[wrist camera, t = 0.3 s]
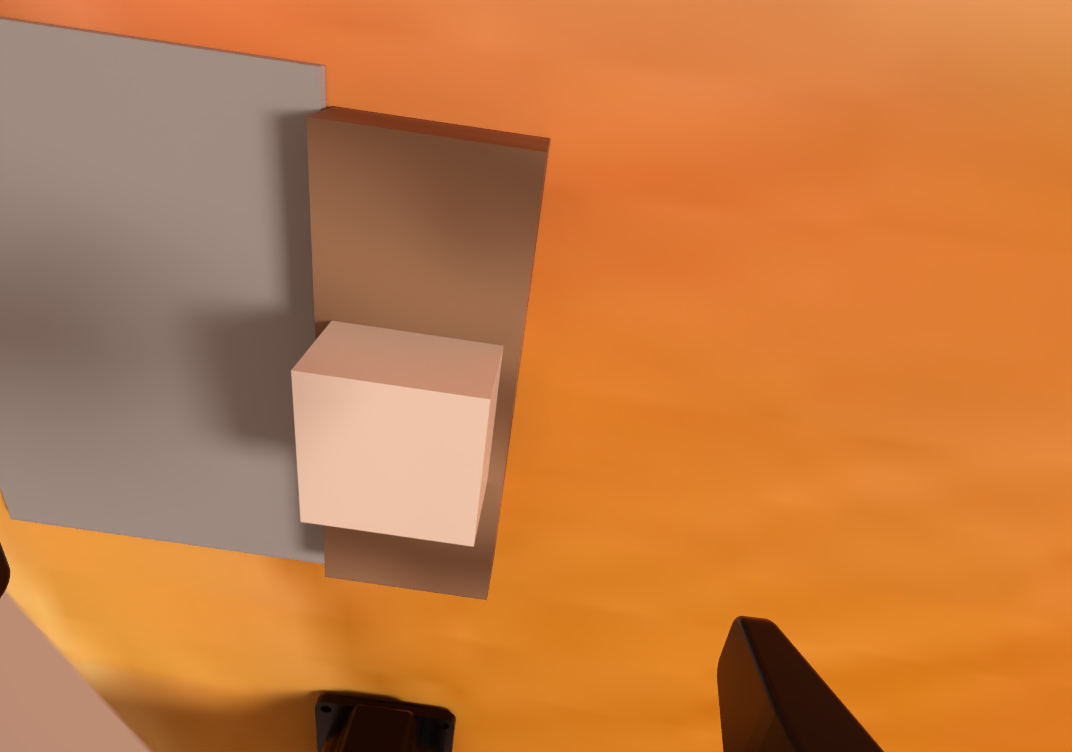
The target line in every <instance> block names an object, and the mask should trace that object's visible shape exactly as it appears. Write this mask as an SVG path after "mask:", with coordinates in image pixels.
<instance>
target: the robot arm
mask: <svg viewBox="0 0 1072 752" xmlns="http://www.w3.org/2000/svg"><path fill="white" fill-rule="evenodd" d="M9 579H10V567H9V564H8V562H7V559H6V556H5V554H4V551H3V548H2V546H1V543H0V598H1V596H2V595H3V593H4V592H5V590H6V588H7V585H8V583H9ZM717 684H718V695H719V706H720V718H721V729H722V741H723V752H884V751H883V750H882V749H881V747H880V746H879V745H878V744H877V743H876V742H875V740H874V739H873V738H872V737H871V736H870V735H869V733H868V732H867V731H866V730H865V729H864V727H863V726H862V725H861V724H860V723H859V722H858V720H857V719H856V718H855V717H854V716H853V715H852V713H851V712H850V711H849V710H848V709H847V708H846V706H845V705H844V704H843V703H842V702H841V700H840V699H839V698H838V697H837V696H836V695H835V693H834V692H833V691H832V690H831V689H830V688H829V686H828V685H827V684H826V683H825V682H824V680H823V679H822V678H821V677H820V676H819V675H818V673H817V672H816V671H815V670H814V669H813V668H812V666H811V665H810V664H809V663H808V662H807V661H806V659H805V658H804V657H803V656H802V655H801V653H800V652H799V651H798V650H797V649H796V648H795V646H794V645H793V644H792V643H791V642H790V641H789V639H788V638H787V637H786V636H785V635H784V634H783V632H782V631H781V630H780V629H779V628H778V626H777V625H776V624H774V623H773V622H772V621H770V620H768V619H763V618H755V617H747V616H739V617H737V618H736V619H735V620H734V621H733V623H732V626H731V628H730V631H729V634H728V637H727V639H726V642H725V645H724V647H723V650H722V653H721V656H720V658H719V662H718V669H717ZM315 713H316V730H317V747H318V752H452V748H453V739H454V730H455V722H456V718H455V716H454V715H453V714H452V713H450V712H447V711H441V710H434V709H427V708H420V707H413V706H406V705H399V704H392V703H385V702H378V701H371V700H364V699H357V698H350V697H343V696H336V695H328V694H324V695H321V696H320V697H319V698H318V701H317V703H316V706H315Z"/></svg>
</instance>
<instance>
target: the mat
mask: <svg viewBox="0 0 1072 752" xmlns="http://www.w3.org/2000/svg"><path fill="white" fill-rule="evenodd" d="M325 109H326V79H325V65H320V64H314V63H307V62H300V61H294V60H287V59H280V58H273V57H267V56H260V55H253V54H247V53H240V52H233V51H227V50H220V49H213V48H206V47H200V46H193V45H186V44H180V43H173V42H166V41H160V40H153V39H146V38H139V37H133V36H126V35H119V34H113V33H106V32H99V31H93V30H86V29H79V28H72V27H66V26H59V25H52V24H46V23H39V22H32V21H25V20H19V19H12V18H5V17H0V489H1V492H2V495H3V497H4V500H5V503H6V506H7V509H8V512H9V515H10V517H11V519H14V520H21V521H28V522H34V523H41V524H48V525H55V526H62V527H69V528H76V529H83V530H90V531H97V532H104V533H111V534H118V535H125V536H132V537H139V538H146V539H153V540H160V541H167V542H174V543H181V544H188V545H195V546H202V547H209V548H216V549H223V550H230V551H237V552H244V553H251V554H258V555H265V556H271V557H278V558H285V559H292V560H299V561H306V562H313V563H320V564H325V562H324V537H323V525H319V524H312V523H305V522H301V520H300V504H299V488H298V472H297V456H296V440H295V424H294V408H293V392H292V377H291V370H292V369H293V368H294V366H295V365H296V364H297V363H298V361H299V360H300V359H301V358H302V357H303V355H304V354H305V353H306V352H307V350H308V349H309V348H310V347H311V345H312V344H313V343H314V342H315V316H314V292H313V267H312V243H311V218H310V194H309V169H308V145H307V120H306V117H307V116H309V115H312V114H315V113H317V112H320V111H322V110H325Z"/></svg>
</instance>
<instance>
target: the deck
mask: <svg viewBox="0 0 1072 752" xmlns="http://www.w3.org/2000/svg"><path fill="white" fill-rule="evenodd" d="M306 120H307V145H308V169H309V194H310V218H311V243H312V267H313V292H314V316H315V341H316V339H317V338H318V337H319V336H320V334H321V333H322V332H323V331H324V330H325V328H326V327H327V326H328V325H329V323H330V322H331V321H338V322H345V323H352V324H358V325H365V326H372V327H379V328H386V329H393V330H399V331H406V332H413V333H420V334H427V335H434V336H440V337H447V338H454V339H461V340H468V341H475V342H482V343H488V344H495V345H502V346H503V353H502V361H501V370H500V378H499V387H498V395H497V404H496V412H495V420H494V429H493V437H492V446H491V454H490V463H489V471H488V479H487V485H486V490H485V495H484V500H483V504H482V509H481V514H480V519H479V524H478V529H477V533H476V538H475V543H474V547H472V546H465V545H458V544H451V543H444V542H438V541H431V540H424V539H417V538H410V537H403V536H396V535H389V534H382V533H375V532H368V531H361V530H354V529H347V528H340V527H333V526H326V525H323V537H324V562H325V577H330V578H337V579H344V580H351V581H358V582H365V583H372V584H379V585H385V586H392V587H399V588H406V589H413V590H420V591H427V592H434V593H441V594H448V595H455V596H462V597H469V598H476V599H483V600H487V596H488V590H489V584H490V578H491V572H492V566H493V560H494V553H495V545H496V538H497V530H498V523H499V515H500V508H501V501H502V493H503V486H504V478H505V471H506V464H507V456H508V449H509V441H510V434H511V426H512V419H513V412H514V404H515V397H516V389H517V382H518V375H519V367H520V360H521V352H522V345H523V337H524V330H525V323H526V315H527V308H528V300H529V293H530V286H531V278H532V271H533V263H534V256H535V248H536V241H537V234H538V226H539V219H540V211H541V204H542V197H543V189H544V182H545V174H546V167H547V159H548V152H549V145H550V138H543V137H537V136H530V135H523V134H516V133H510V132H503V131H496V130H489V129H483V128H476V127H469V126H463V125H456V124H449V123H442V122H436V121H429V120H422V119H416V118H409V117H402V116H395V115H389V114H382V113H375V112H368V111H362V110H355V109H348V108H342V107H335V106H333V107H330V108H328V109H325V110H322V111H320V112H317V113H315V114H312V115H309V116H307V117H306Z"/></svg>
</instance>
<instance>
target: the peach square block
mask: <svg viewBox="0 0 1072 752" xmlns="http://www.w3.org/2000/svg"><path fill="white" fill-rule="evenodd" d="M502 353H503V346H502V345H495V344H488V343H482V342H475V341H468V340H461V339H454V338H447V337H440V336H434V335H427V334H420V333H413V332H406V331H399V330H393V329H386V328H379V327H372V326H365V325H358V324H352V323H345V322H338V321H331V322H330V323H329V325H328V326H327V327H326V328H325V330H324V331H323V332H322V333H321V334H320V336H319V337H318V338H317V339H316V341H315V342H314V343H313V344H312V345H311V347H310V348H309V349H308V350H307V352H306V353H305V354H304V355H303V357H302V358H301V359H300V360H299V361H298V363H297V364H296V365H295V366H294V368H293V369H292V370H291V377H292V392H293V408H294V424H295V440H296V456H297V472H298V488H299V504H300V520H301V522H305V523H312V524H319V525H326V526H333V527H340V528H347V529H354V530H361V531H368V532H375V533H382V534H389V535H396V536H403V537H410V538H417V539H424V540H431V541H438V542H444V543H451V544H458V545H465V546H472V547H474V543H475V538H476V533H477V529H478V524H479V519H480V514H481V509H482V504H483V500H484V495H485V490H486V485H487V479H488V471H489V463H490V454H491V446H492V437H493V429H494V420H495V412H496V404H497V395H498V387H499V378H500V370H501V361H502Z"/></svg>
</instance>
